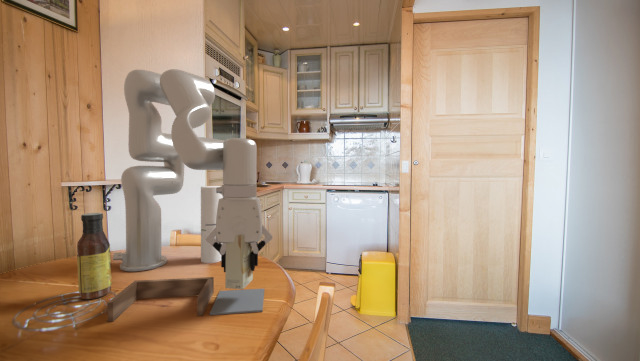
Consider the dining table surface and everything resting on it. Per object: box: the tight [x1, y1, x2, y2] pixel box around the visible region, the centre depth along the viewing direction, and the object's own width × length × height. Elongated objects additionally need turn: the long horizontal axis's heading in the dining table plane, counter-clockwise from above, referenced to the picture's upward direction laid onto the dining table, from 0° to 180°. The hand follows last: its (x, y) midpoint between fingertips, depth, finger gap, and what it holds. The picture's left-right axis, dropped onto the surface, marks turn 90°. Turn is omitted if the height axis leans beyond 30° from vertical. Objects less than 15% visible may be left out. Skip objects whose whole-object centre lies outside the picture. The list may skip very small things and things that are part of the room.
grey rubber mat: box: [209, 288, 265, 316], centre depth 65 cm, size 11×11×1 cm
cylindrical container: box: [200, 185, 223, 264], centre depth 94 cm, size 7×7×25 cm
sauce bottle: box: [76, 212, 113, 300], centre depth 67 cm, size 7×6×20 cm
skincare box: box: [224, 235, 254, 290], centre depth 64 cm, size 6×4×12 cm
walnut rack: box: [106, 276, 215, 323], centre depth 62 cm, size 18×11×4 cm, turn 99°
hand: (239, 268), depth 65 cm, fingers closed on skincare box, 5 cm apart
